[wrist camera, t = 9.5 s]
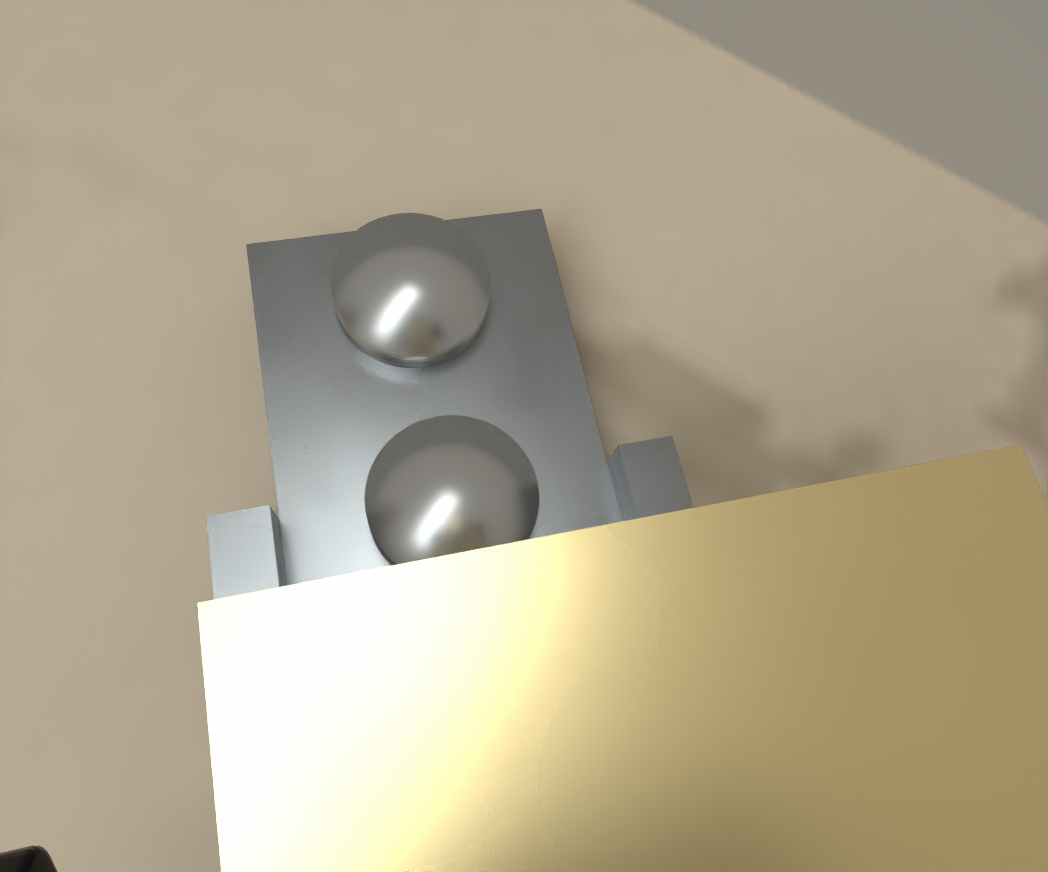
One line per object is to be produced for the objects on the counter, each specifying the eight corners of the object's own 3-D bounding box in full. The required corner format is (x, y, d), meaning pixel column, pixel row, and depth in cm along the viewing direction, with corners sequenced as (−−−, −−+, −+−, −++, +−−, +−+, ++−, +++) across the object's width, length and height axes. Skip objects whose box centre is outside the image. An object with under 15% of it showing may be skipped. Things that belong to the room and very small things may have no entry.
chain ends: (965, 1686, 12) (1100, 1921, 9) (384, 1958, 10) (370, 2314, 8) (575, 243, 19) (596, 172, 17) (212, 289, 18) (179, 220, 15)
